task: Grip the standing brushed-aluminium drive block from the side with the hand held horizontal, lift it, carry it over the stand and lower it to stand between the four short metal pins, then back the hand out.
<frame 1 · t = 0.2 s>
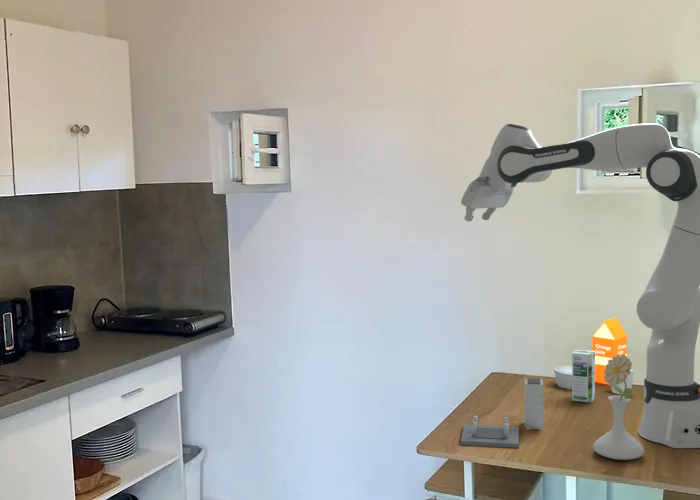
hand: (476, 219, 226), 53 cm above the table, tool tilted 25°, fingers open, 8 cm apart
ramekin: (572, 386, 243), on the table
orange juice: (609, 381, 248), on the table
flower in vase: (619, 457, 181), on the table
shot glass: (621, 392, 235), on the table
syrup box: (583, 400, 228), on the table
stand: (490, 437, 196), on the table
drive: (533, 426, 204), on the table
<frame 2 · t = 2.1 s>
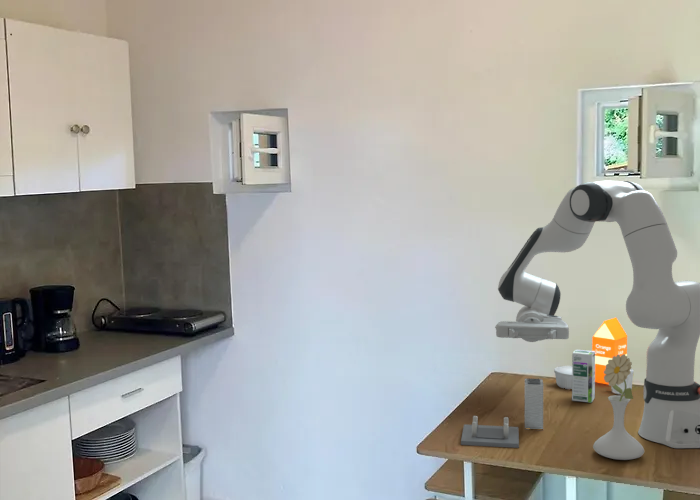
hand: (532, 335, 214), 22 cm above the table, tool horizontal, fingers open, 8 cm apart
nothing on the table moved.
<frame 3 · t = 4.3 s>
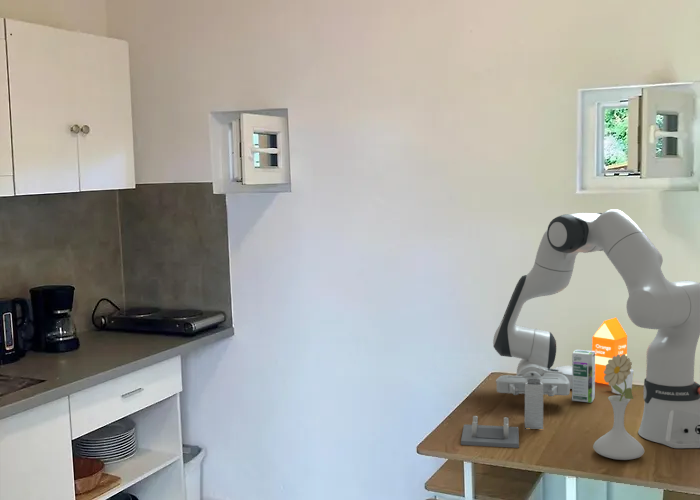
hand: (533, 392, 213), 6 cm above the table, tool horizontal, fingers open, 8 cm apart
nothing on the table moved.
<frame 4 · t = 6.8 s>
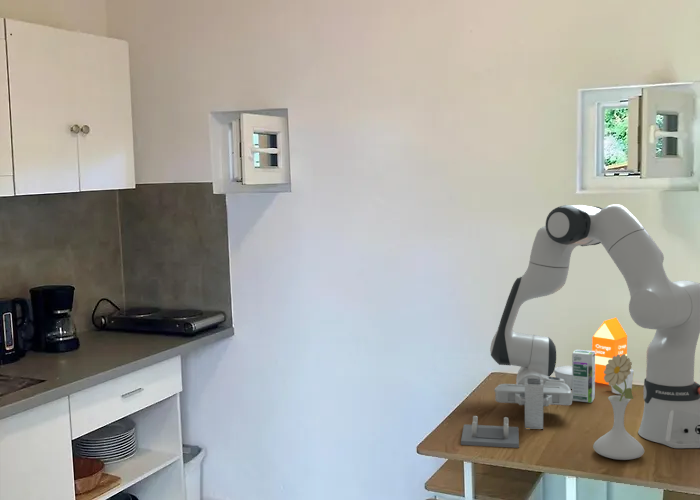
hand: (533, 402, 203), 7 cm above the table, tool horizontal, fingers closed on drive, 5 cm apart
drive: (533, 426, 204), on the table, touching gripper
everything else where it was.
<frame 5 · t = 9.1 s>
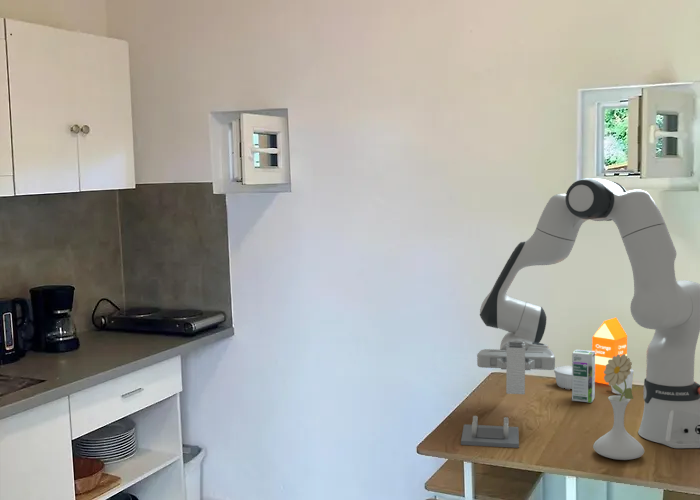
hand: (515, 366, 199), 17 cm above the table, tool horizontal, fingers closed on drive, 5 cm apart
drive: (515, 390, 200), point 11 cm above the table, touching gripper
everything else where it was.
when the fingers open (9 cm above the table, at t = 11.7 s): drive drops 1 cm, resting on stand.
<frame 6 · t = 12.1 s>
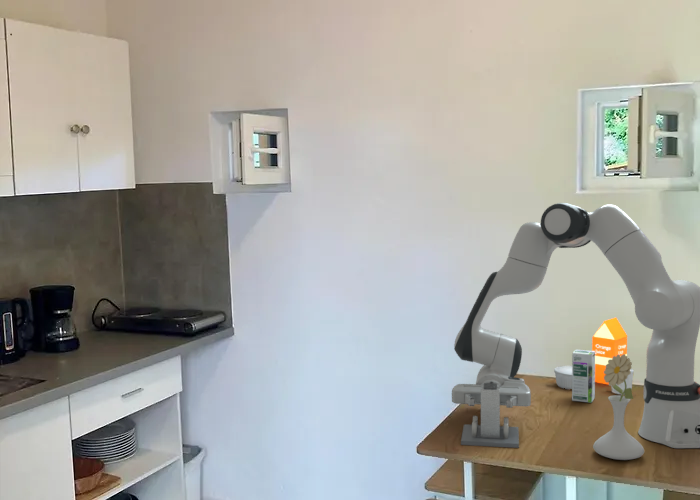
hand: (490, 403, 194), 9 cm above the table, tool horizontal, fingers open, 8 cm apart
drive: (490, 432, 196), point 1 cm above the table, touching stand
everything else where it was.
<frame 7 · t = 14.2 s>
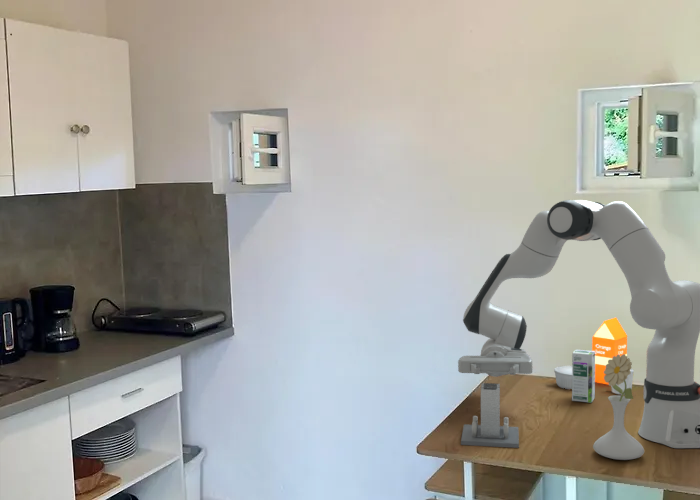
hand: (494, 371, 207), 14 cm above the table, tool horizontal, fingers open, 8 cm apart
nothing on the table moved.
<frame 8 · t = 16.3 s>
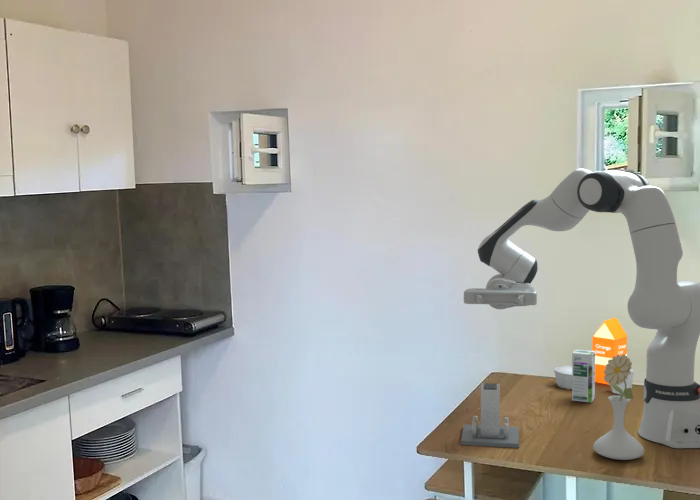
hand: (499, 301, 211), 32 cm above the table, tool horizontal, fingers open, 8 cm apart
nothing on the table moved.
at the end: drive 0.0 cm off-centre on the stand, point 1.2 cm above the stand's base; drive tilted 0°; the gripper is holding nothing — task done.
